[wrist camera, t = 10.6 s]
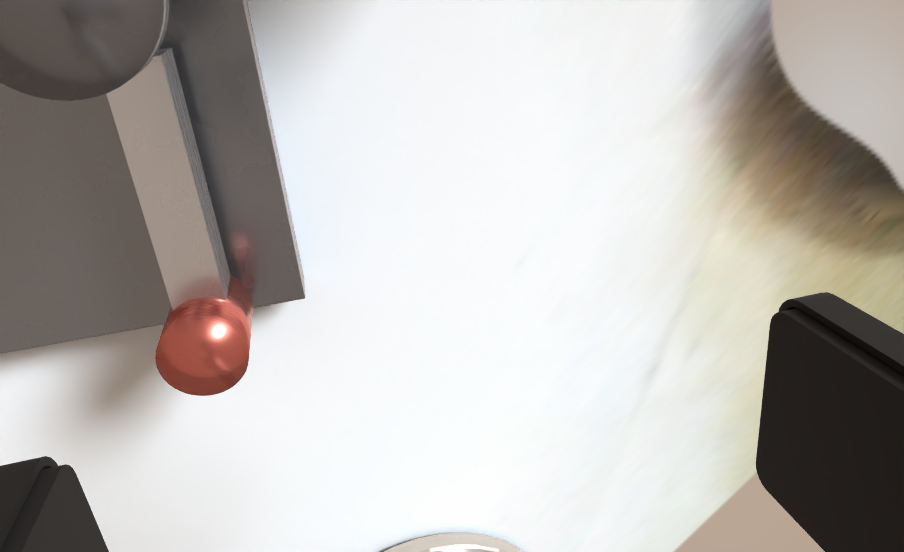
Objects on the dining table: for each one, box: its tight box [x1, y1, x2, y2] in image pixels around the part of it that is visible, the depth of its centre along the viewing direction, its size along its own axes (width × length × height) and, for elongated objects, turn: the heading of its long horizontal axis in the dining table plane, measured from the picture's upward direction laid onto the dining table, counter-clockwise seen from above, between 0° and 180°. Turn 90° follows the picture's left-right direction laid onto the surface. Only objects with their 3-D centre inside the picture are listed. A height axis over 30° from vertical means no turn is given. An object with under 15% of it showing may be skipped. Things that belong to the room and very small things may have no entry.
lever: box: [106, 48, 253, 396], centre depth 20 cm, size 10×3×4 cm, turn 6°
